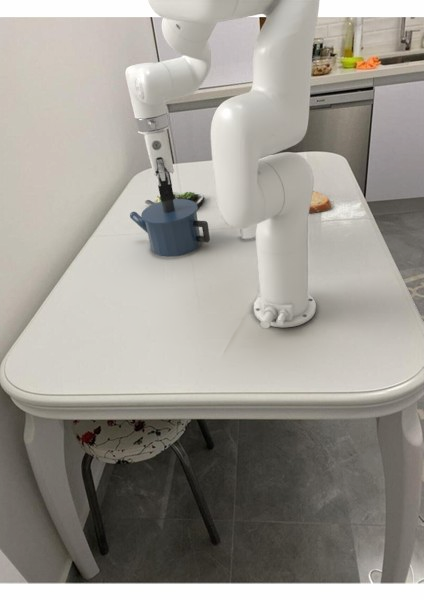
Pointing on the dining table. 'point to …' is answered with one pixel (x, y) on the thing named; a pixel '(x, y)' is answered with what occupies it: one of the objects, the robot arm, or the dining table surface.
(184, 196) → the salad plate
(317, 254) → the dining table surface
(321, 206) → the slice of bread
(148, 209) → the teapot lid
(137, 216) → the teapot spout and handle
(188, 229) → the teapot
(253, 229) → the eye dropper bottle
